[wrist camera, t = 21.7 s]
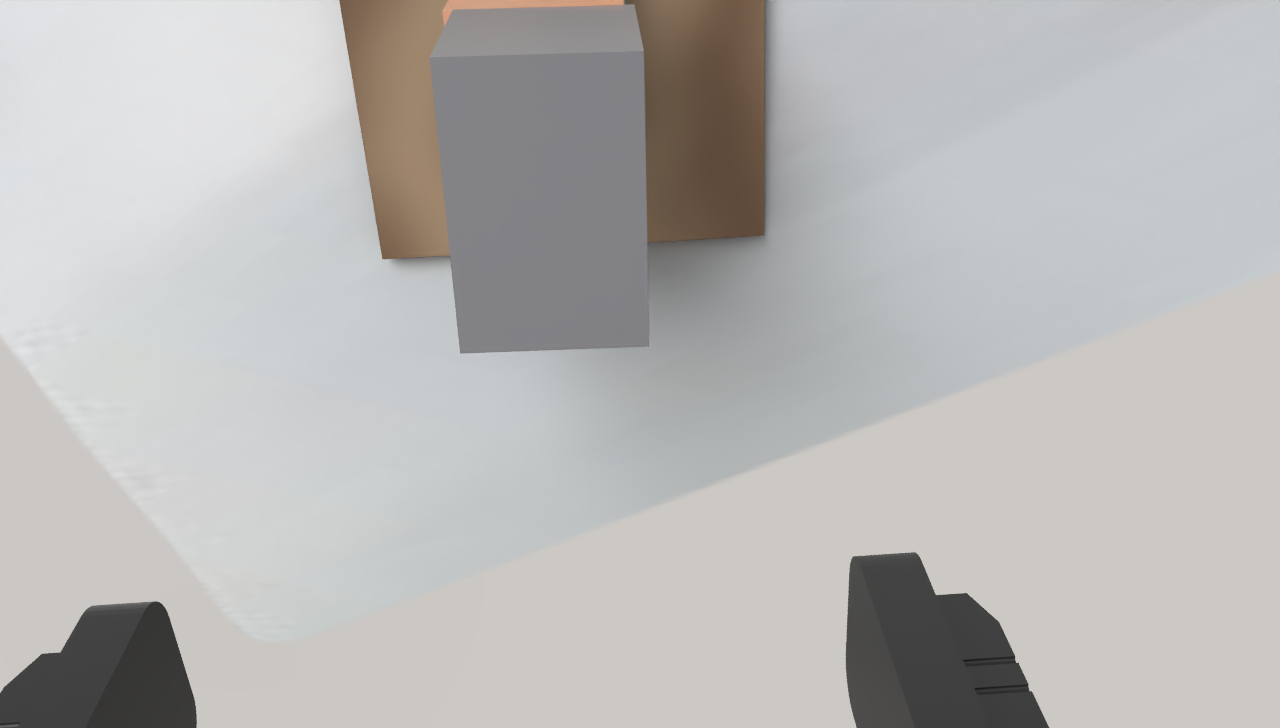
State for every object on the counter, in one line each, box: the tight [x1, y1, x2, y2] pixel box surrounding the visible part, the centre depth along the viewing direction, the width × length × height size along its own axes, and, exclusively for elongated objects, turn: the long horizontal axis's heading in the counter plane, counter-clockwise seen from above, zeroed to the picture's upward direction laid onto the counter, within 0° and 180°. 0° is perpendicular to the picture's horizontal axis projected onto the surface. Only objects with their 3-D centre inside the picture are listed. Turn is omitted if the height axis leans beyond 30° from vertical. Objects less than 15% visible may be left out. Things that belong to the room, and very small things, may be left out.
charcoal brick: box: [430, 4, 649, 353], centre depth 28 cm, size 4×7×5 cm, turn 1°
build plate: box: [340, 0, 764, 259], centre depth 38 cm, size 14×14×6 cm
